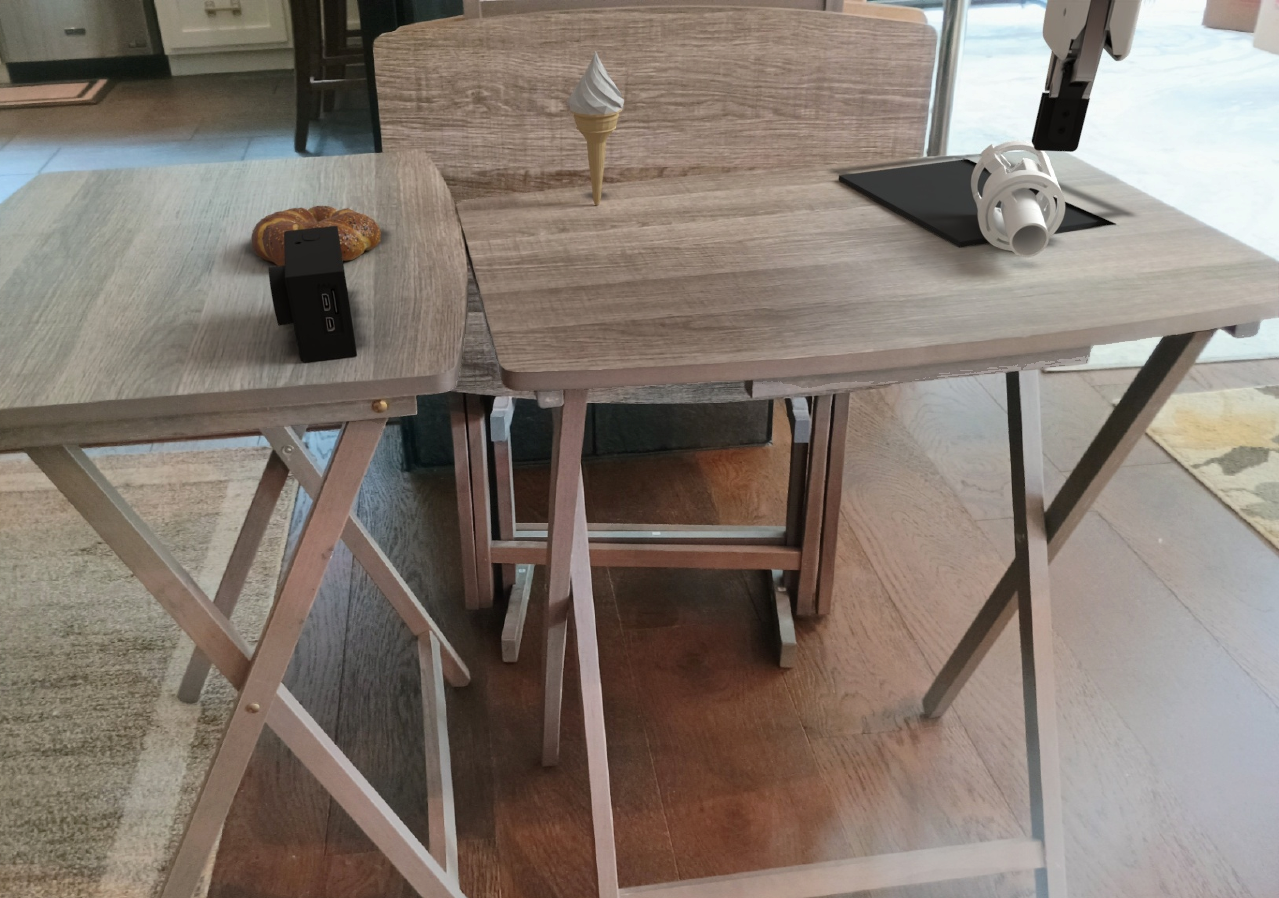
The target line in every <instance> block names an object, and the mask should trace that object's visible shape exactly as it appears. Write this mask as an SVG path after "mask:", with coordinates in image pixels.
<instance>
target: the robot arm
mask: <svg viewBox="0 0 1279 898" xmlns="http://www.w3.org/2000/svg"><path fill="white" fill-rule="evenodd" d="M1142 1H1143V0H1047V1H1046V5H1045V11H1044V17H1043V23H1042V38H1043V40H1044V42H1045V43H1046V45H1047V46H1048V49H1050V51H1051V52H1050V53H1051V54H1050V58H1049V62H1048V63H1049V64H1048V68H1047V74H1046V78H1045V83H1044V92H1043V91H1042V92H1041V96H1040V101H1039V106H1038V110H1037V114H1036V119H1035V123H1034V128H1033V131H1032V132H1033V134H1032V137H1031V143H1032V144H1033V146H1034V148H1035V149H1036V150H1038V151H1045V152H1062V153H1063V152H1068V153H1073V152H1076V150H1078V148H1079V146H1080V145H1079V144H1080V140H1081V136H1082V132H1083V128H1084V124H1085V121H1086V120H1085V119H1086V116H1087V112H1088V108H1089V103H1090V100H1091V95H1092V94H1091V93H1092V90H1093V87H1094V82H1095V79H1096V75H1097V73H1098V69H1099V65H1100V62H1101V58H1102V54H1103V51H1104V50H1105V51H1106V53H1107V55H1109V56H1110V57H1111V59H1113V60H1114V61H1115V62H1122V61H1124V60H1125V59H1126V58H1127V57H1128V56H1129V55H1130V53H1131V50H1132V47H1133V41H1134V37H1135V33H1136V28H1137V25H1138V24H1137V23H1138V20H1139V14H1140V10H1141V6H1142Z"/></svg>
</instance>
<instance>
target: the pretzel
mask: <svg viewBox="0 0 1279 898" xmlns="http://www.w3.org/2000/svg"><path fill="white" fill-rule="evenodd" d="M330 226H337V227H338V233H339V239H340V246H341V252H342V259H343V262H345V261H352V260H355V259H357V258H360V257H361V255H362V254H364V253H365V251H372V250H373V249H374V248H376V247H377V246H378V245H379V244H380V242H381V238H382V236H381V229H380V227H379V226H378V224H377V222H376V221H375V220H374V219H373V218H371V217H370V216H368V215H367V214H364V213H360V212H358V211H355V210H353V209H351V208H348V207H347V208H342V209H339V210H338V209H337V208H335V207H332V206H329V205H316V206H312V207H310V208H309V209H308V208H305V207H293V208H288V209H285V210H279V211H275V212H273V213H271V214H268V215H266V216H264V217H263V218H261V219H260V220H259V221H258V222H257V223H256V224H255V226H254V227H253V229H252V233H251V239H250V241H251V247H252V249H253V251H254V253H255V254H256V255H257V256H258V257H259V258H261V259H263V260H265V261H268V262H272V263H274V264H275V266H282V265H285V259H284V232H285V231H291V230H301V229H310V228H320V227H330Z"/></svg>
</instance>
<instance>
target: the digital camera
mask: <svg viewBox="0 0 1279 898" xmlns="http://www.w3.org/2000/svg"><path fill="white" fill-rule="evenodd" d="M284 259H285V265H282V266H278V265H273V266H268V280H269V288H270V295H271V298H272V299H271V300H272V305H273V310H274V315H275V319H276V322H277V325H278V326H279V327H280V326H288V325H293V328H294V332H295V338H296V345H297V350H298V355H299V360H300V362H301V363H309V362H317V361H318V362H319V361H325V360H334V359H343V358H351V357H357V356H358V351H357V346H356V345H357V344H356V339H355V332H354V331H355V330H354V324H353V317H352V311H351V303H350V298H349V292H348V284H347V278H346V273H345V272H346V271H345V265H344V261H343V259H342V252H341V246H340V239H339V233H338V227H337V226H330V227H320V228H310V229H301V230H291V231H285V232H284Z"/></svg>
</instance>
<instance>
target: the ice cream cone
mask: <svg viewBox="0 0 1279 898" xmlns="http://www.w3.org/2000/svg"><path fill="white" fill-rule="evenodd" d="M622 97H623V95H622V93H621V91H620V90H619V88H618V87H617V85H616V84H615V82H614V81H613V80H612V79H611V76H610V74H609V73H608V71H607V70H606V68H605V66H604V65H603V62H602V61H601V58H600V57H599V55H598V52H597V51H596V50H595V51H594V53H593V55H592V57H591V60H590V62H589V64H588V66H587V68H586V70H585V71H584V73H583V75H582V76H581V78H580V79H579V81H578V83H577V84H576V86H575V88H574V89H573V90H572V93H571V95H570V96H569V97H568V99H567V102H568V107H569V112H570V113H571V114H572V115H573V116H572V117H573V119H574V123H575V125H576V126H575V128H576V131H577V130H578V131H579V133H580V134H581V135H582V136H583V137H584V139H585V141H586V150H587V160H588V166H589V177H590V183H591V191H592V200H593V204H594V205H595V206H599V205H600V203H601V199H602V188H603V181H604V180H603V179H604V171H605V163H606V162H605V160H606V149H607V140H608V138H609V137H610V135H611V134H612V133H613V131H614V130H616V129H617V123H618V120H619V117H620V113H621V112H622V111H623V109H624V104H625V99H624V98H622Z"/></svg>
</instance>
